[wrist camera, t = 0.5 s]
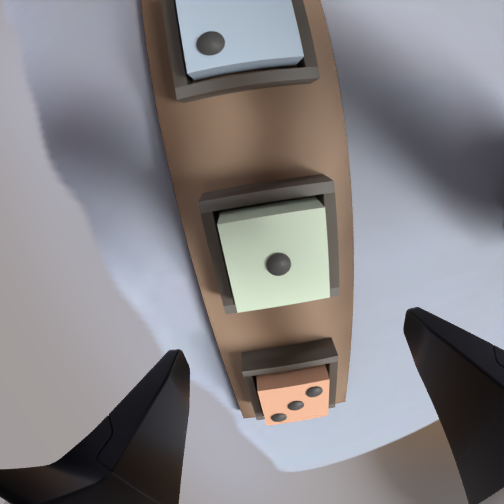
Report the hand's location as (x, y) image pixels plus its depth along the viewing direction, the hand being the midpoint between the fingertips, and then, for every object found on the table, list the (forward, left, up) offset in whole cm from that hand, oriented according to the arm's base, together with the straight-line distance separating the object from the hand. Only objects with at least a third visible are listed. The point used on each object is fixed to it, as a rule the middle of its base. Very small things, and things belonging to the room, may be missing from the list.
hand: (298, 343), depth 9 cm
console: (0, 0, -10) cm, 10 cm away
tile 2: (0, -12, -8) cm, 14 cm away
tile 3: (0, +12, -8) cm, 14 cm away
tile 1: (0, 0, -8) cm, 8 cm away
